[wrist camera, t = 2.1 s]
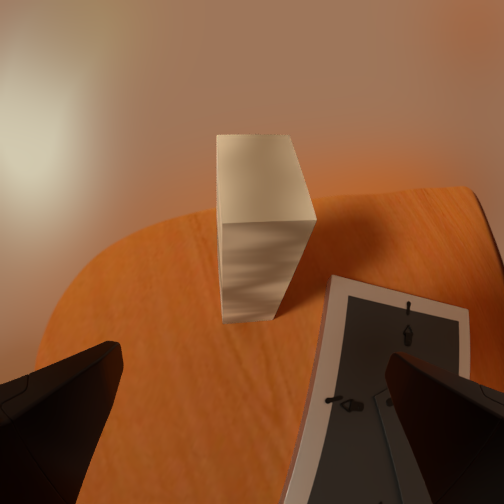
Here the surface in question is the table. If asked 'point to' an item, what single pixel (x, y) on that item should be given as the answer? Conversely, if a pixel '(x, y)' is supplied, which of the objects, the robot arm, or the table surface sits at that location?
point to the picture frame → (368, 395)
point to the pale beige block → (259, 223)
